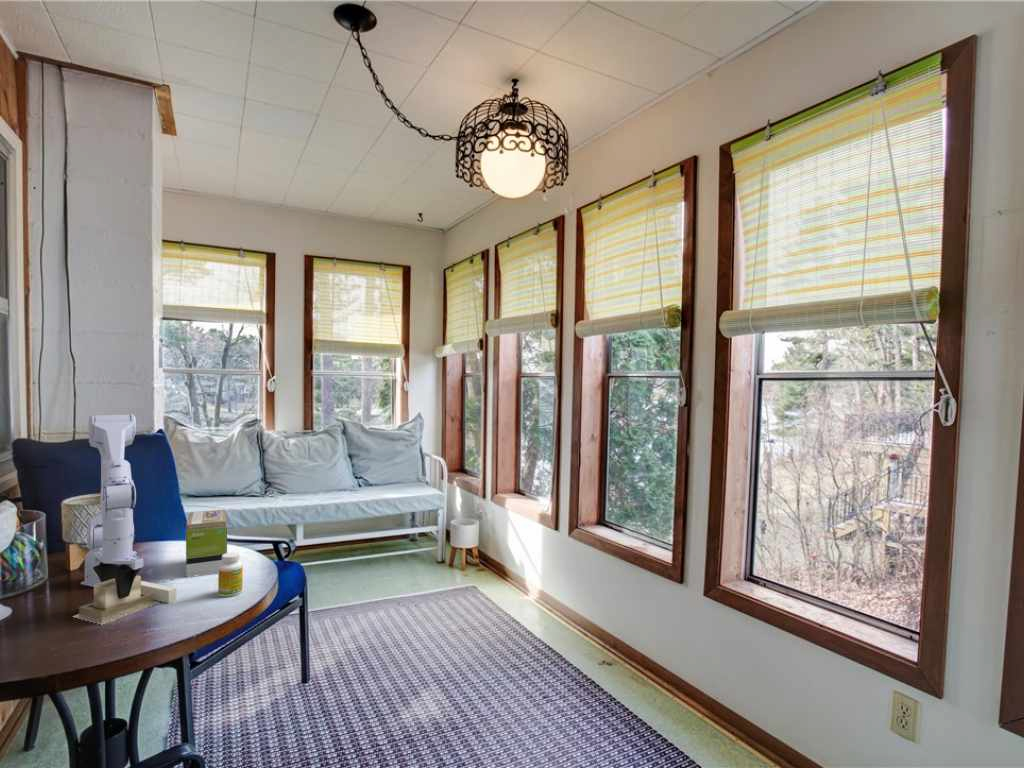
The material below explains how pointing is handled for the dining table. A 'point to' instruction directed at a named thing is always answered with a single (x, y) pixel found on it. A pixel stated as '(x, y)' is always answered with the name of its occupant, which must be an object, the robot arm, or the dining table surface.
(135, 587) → the bar
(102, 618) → the keeper
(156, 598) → the board
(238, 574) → the supplement bottle
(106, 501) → the robot arm
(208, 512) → the tea box
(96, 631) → the dining table surface
